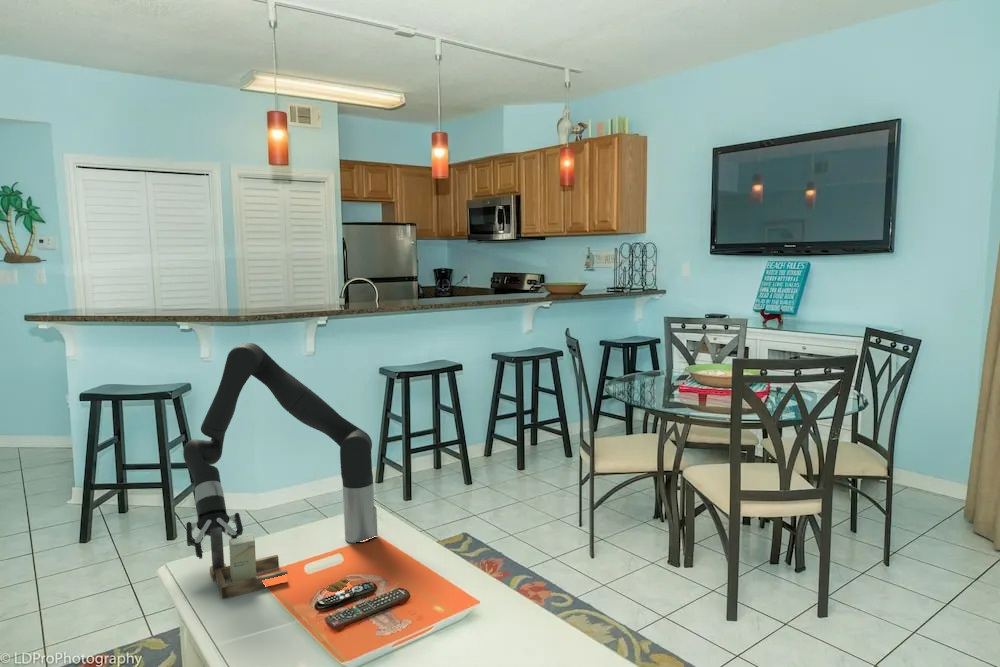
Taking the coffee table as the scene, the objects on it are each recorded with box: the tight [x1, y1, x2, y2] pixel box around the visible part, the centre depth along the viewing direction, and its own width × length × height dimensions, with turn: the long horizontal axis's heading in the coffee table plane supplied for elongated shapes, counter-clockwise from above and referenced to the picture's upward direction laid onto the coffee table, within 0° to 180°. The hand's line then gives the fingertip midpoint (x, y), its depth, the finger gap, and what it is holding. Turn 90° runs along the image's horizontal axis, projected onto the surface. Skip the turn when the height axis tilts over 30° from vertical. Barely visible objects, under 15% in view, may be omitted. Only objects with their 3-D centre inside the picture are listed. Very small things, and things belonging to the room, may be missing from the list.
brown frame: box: [209, 527, 288, 600], centre depth 176 cm, size 17×18×12 cm
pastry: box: [325, 578, 350, 592], centre depth 164 cm, size 9×7×4 cm
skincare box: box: [228, 534, 257, 584], centre depth 172 cm, size 6×4×12 cm
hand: (218, 553), depth 177 cm, fingers open, 8 cm apart
